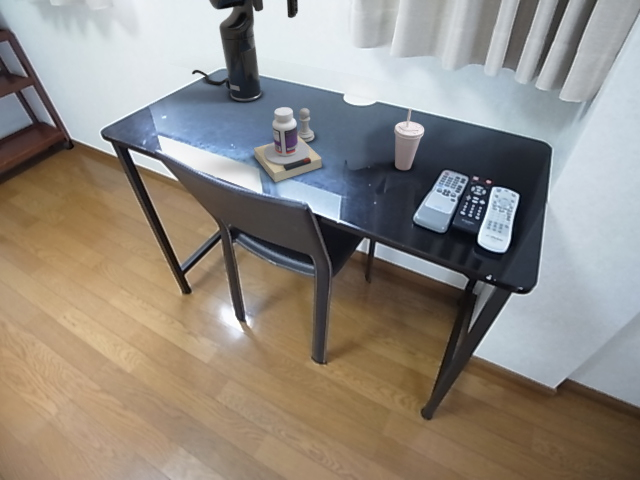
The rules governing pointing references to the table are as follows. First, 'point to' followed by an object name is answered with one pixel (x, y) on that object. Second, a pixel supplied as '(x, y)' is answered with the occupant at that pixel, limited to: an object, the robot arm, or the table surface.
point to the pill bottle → (285, 132)
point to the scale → (287, 161)
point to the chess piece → (305, 126)
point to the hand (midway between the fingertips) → (275, 13)
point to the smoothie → (407, 142)
